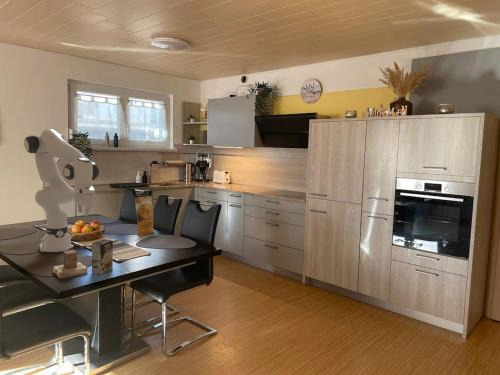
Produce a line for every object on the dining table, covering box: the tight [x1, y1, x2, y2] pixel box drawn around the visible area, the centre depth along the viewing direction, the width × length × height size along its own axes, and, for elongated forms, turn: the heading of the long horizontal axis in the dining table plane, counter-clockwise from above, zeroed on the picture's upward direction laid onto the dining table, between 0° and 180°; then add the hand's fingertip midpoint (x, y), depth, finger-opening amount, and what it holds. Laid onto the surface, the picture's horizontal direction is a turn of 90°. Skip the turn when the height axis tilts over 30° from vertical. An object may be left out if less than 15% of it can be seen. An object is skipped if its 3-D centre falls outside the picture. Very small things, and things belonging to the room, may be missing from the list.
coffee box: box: [91, 239, 114, 275], centre depth 197 cm, size 9×6×16 cm
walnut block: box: [63, 249, 78, 269], centre depth 193 cm, size 5×5×8 cm
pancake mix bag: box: [134, 195, 154, 236], centre depth 279 cm, size 7×19×28 cm, turn 151°
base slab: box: [52, 261, 88, 279], centre depth 193 cm, size 12×13×3 cm
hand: (83, 213), depth 201 cm, fingers open, 8 cm apart
